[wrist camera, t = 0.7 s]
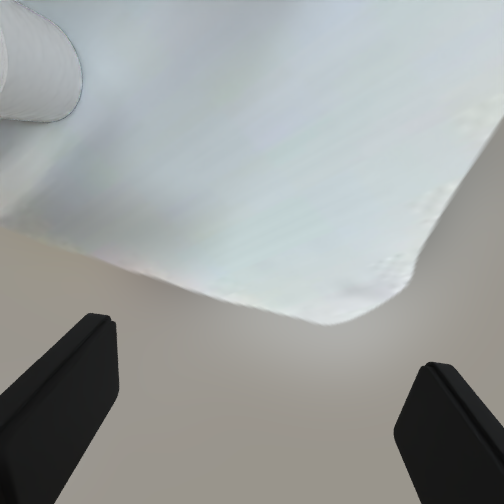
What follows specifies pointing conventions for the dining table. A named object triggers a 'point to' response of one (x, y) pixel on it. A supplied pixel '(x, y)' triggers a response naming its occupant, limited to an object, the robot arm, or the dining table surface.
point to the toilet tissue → (35, 67)
